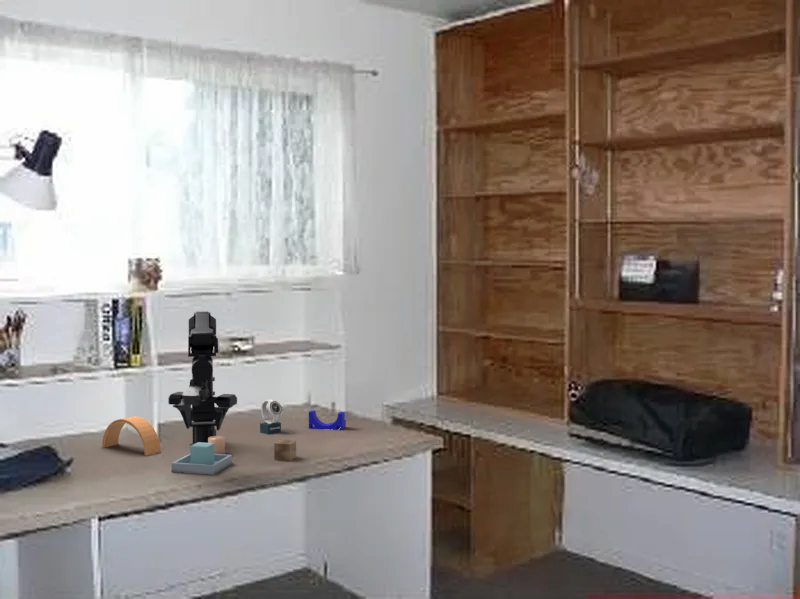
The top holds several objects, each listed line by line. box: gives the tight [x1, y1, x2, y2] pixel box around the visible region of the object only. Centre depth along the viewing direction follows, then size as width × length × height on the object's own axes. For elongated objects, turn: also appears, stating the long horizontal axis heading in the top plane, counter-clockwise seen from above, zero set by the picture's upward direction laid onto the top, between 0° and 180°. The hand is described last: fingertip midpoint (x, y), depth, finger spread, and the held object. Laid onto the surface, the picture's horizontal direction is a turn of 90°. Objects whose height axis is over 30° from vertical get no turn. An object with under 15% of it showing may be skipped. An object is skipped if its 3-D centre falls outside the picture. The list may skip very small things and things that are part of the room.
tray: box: [171, 453, 233, 476], centre depth 248 cm, size 13×13×2 cm
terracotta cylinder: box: [208, 435, 226, 455], centre depth 264 cm, size 5×5×5 cm
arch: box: [101, 415, 162, 457], centre depth 269 cm, size 6×20×10 cm, turn 57°
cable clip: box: [308, 409, 347, 431], centre depth 301 cm, size 12×4×6 cm, turn 78°
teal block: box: [189, 442, 214, 465], centre depth 248 cm, size 5×5×6 cm
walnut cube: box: [273, 439, 297, 462], centre depth 259 cm, size 5×5×5 cm
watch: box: [259, 399, 283, 435], centre depth 294 cm, size 6×8×11 cm
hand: (203, 429), depth 248 cm, fingers open, 9 cm apart
